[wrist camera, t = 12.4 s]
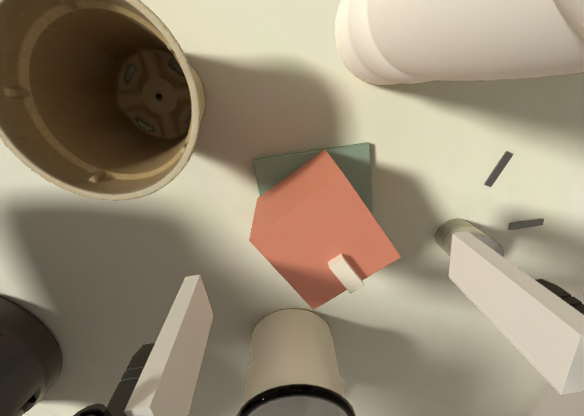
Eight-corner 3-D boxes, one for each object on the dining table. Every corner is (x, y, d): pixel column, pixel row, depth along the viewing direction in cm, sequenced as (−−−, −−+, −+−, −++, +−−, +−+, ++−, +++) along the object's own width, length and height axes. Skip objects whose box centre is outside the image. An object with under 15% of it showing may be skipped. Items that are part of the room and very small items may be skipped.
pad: (273, 256, 26) (273, 259, 25) (253, 159, 23) (253, 161, 22) (371, 241, 26) (373, 245, 25) (367, 142, 22) (369, 143, 22)
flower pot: (239, 42, 19) (212, 9, 12) (219, 173, 23) (187, 217, 15) (93, 0, 18) (-51, -68, 10) (95, 145, 22) (-13, 178, 14)
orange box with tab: (257, 198, 23) (248, 245, 16) (324, 149, 22) (346, 177, 15) (304, 253, 25) (314, 316, 18) (368, 211, 24) (405, 262, 17)
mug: (250, 298, 28) (238, 388, 19) (345, 306, 29) (372, 396, 20) (240, 383, 32) (226, 485, 24) (322, 388, 33) (337, 488, 25)
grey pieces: (435, 252, 27) (460, 278, 23) (440, 161, 23) (471, 174, 20) (538, 237, 26) (581, 261, 23) (559, 143, 23) (612, 153, 19)
